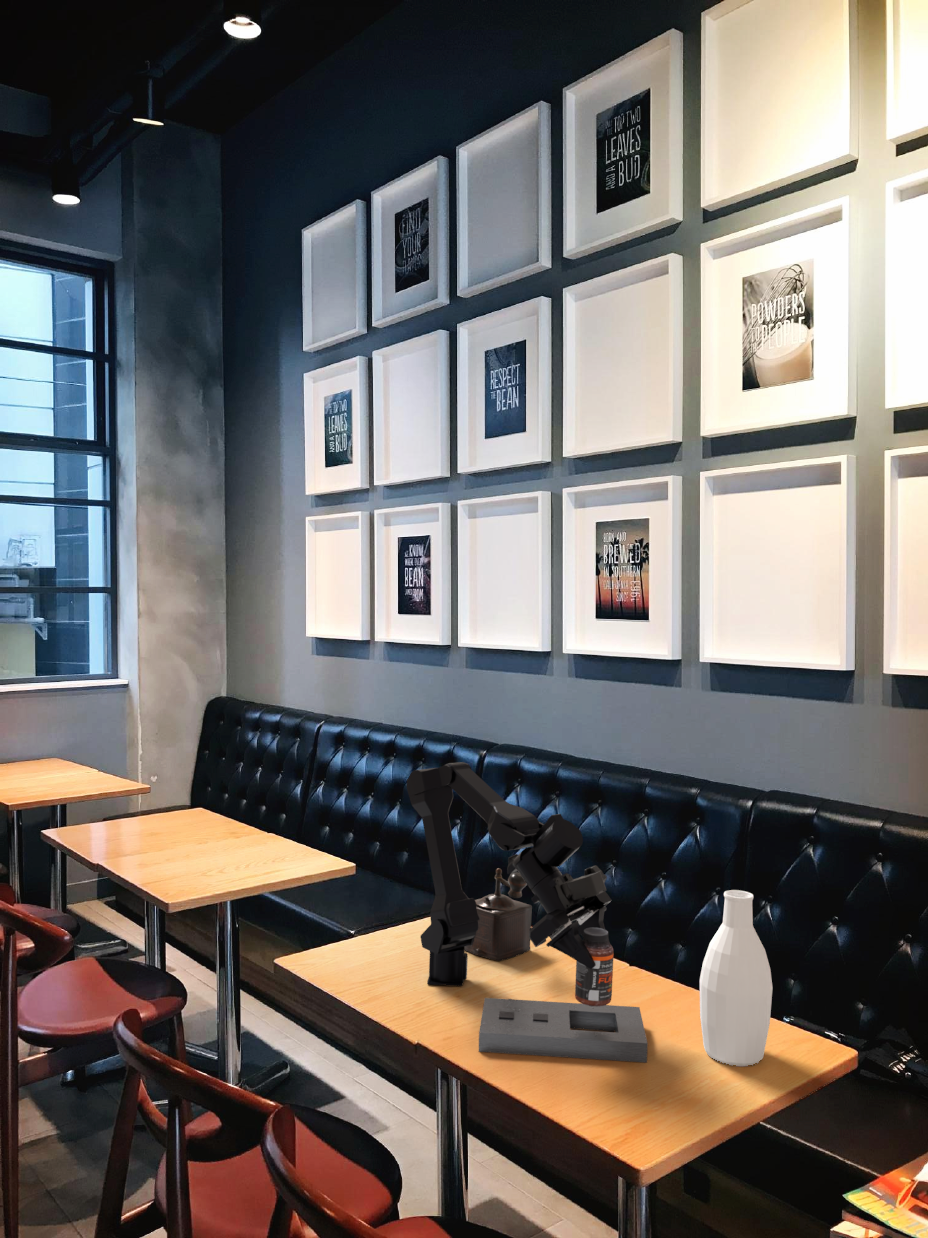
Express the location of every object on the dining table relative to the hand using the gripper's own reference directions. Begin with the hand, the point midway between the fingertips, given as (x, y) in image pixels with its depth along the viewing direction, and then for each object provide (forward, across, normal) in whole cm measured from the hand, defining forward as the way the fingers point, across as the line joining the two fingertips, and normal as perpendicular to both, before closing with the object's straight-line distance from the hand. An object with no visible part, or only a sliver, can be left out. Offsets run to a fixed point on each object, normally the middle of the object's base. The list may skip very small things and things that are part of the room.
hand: (602, 962), depth 161 cm
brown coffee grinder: (-14, +25, +34) cm, 44 cm away
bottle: (+22, +9, -4) cm, 25 cm away
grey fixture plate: (+5, -3, +13) cm, 14 cm away
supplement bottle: (+4, 0, +6) cm, 7 cm away
